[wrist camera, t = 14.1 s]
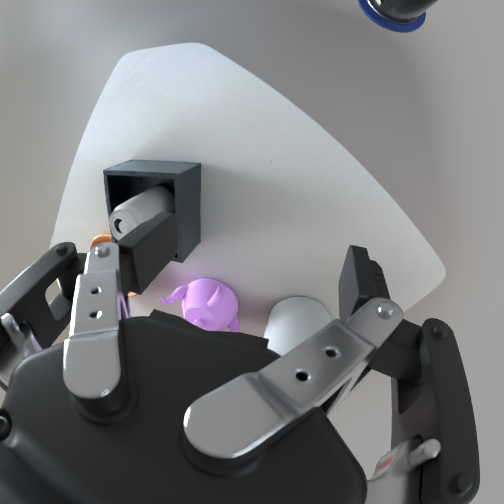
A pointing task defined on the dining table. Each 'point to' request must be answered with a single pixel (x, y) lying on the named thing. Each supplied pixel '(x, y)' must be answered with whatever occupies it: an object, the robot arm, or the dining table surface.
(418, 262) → the dining table surface
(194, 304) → the teapot
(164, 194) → the beverage can
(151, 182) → the dark gray open box
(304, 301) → the cylinder vase
